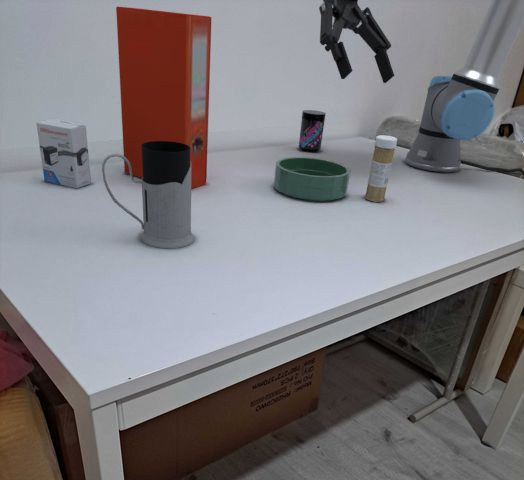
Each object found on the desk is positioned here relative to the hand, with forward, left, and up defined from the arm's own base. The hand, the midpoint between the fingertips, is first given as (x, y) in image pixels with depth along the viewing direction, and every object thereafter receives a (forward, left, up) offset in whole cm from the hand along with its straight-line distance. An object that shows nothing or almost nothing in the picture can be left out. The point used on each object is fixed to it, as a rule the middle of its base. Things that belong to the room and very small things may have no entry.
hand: (368, 77), depth 113 cm
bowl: (+12, +3, -24) cm, 26 cm away
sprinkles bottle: (-1, +10, -24) cm, 26 cm away
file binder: (+43, -8, -24) cm, 50 cm away
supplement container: (-5, -36, -24) cm, 44 cm away
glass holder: (+52, +27, -24) cm, 63 cm away
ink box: (+64, -6, -24) cm, 68 cm away
